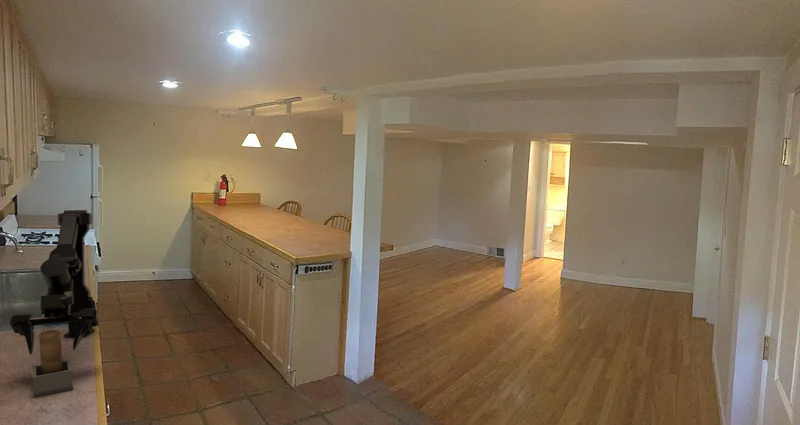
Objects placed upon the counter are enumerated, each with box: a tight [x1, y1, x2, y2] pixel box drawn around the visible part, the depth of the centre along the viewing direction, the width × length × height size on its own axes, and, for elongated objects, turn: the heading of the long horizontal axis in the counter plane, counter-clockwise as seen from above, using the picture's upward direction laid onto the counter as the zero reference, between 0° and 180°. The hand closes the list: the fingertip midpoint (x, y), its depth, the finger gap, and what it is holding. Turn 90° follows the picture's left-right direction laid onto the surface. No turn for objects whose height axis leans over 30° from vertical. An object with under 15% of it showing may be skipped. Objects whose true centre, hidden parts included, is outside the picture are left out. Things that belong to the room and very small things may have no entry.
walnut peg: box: [38, 329, 63, 375], centre depth 130 cm, size 4×4×13 cm
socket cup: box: [31, 359, 74, 398], centre depth 130 cm, size 8×8×5 cm
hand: (52, 351), depth 131 cm, fingers open, 9 cm apart
